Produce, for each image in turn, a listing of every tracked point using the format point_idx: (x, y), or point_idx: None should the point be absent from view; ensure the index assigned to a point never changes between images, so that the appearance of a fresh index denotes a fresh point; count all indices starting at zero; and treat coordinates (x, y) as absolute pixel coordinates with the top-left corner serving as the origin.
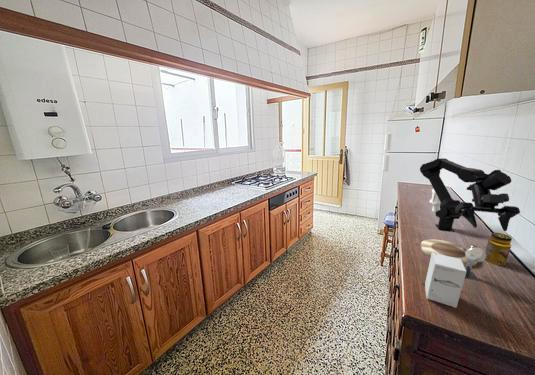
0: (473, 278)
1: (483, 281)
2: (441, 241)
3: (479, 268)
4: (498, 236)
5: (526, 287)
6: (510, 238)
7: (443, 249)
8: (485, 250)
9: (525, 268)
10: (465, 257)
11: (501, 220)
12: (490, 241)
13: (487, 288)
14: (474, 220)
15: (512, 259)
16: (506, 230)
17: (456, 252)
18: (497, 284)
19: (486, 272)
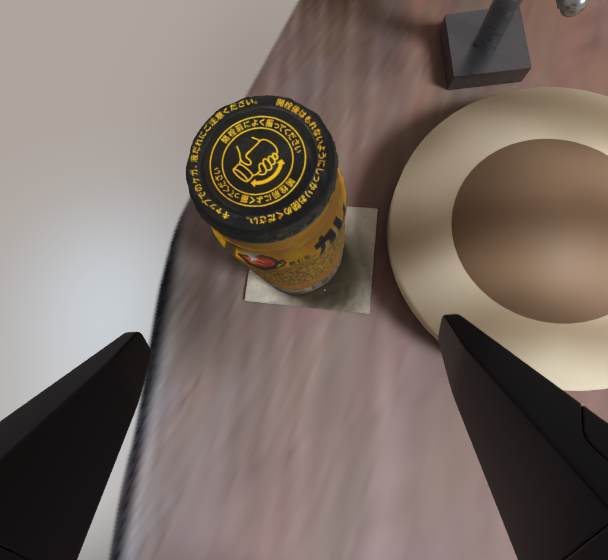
0: (466, 18)
1: (413, 55)
2: (572, 362)
3: (389, 165)
4: (302, 120)
5: (262, 87)
6: (211, 117)
7: (579, 223)
8: (342, 244)
9: (172, 260)
10: (465, 167)
11: (41, 549)
12: (343, 181)
13: (417, 11)
14: (519, 381)
15: (179, 343)
16: (131, 332)
17: (503, 211)
18: (365, 58)
19: (371, 139)
